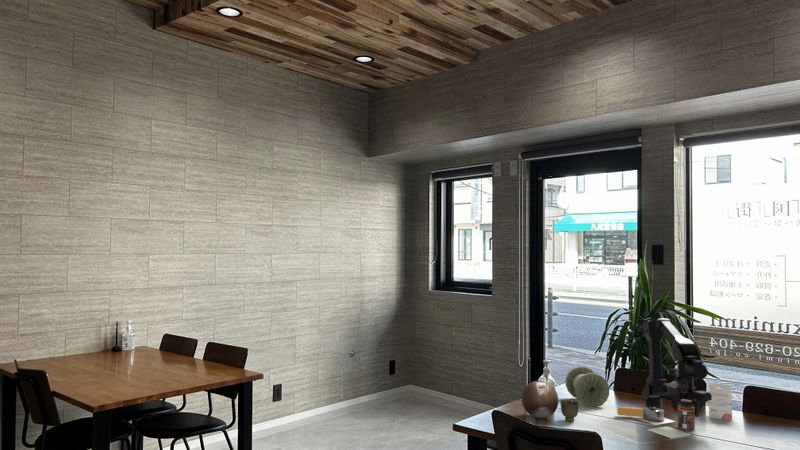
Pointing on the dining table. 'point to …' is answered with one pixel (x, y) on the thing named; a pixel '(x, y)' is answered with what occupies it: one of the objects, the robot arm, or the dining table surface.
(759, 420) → the dining table surface
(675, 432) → the green pad
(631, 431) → the dining table surface
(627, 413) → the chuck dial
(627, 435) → the dining table surface
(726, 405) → the ink cartridge box
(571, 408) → the cup
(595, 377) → the spool
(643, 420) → the dial plate
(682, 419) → the supplement bottle
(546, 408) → the wooden sphere
